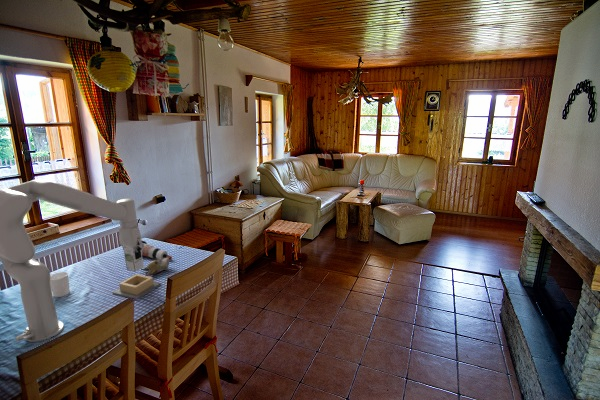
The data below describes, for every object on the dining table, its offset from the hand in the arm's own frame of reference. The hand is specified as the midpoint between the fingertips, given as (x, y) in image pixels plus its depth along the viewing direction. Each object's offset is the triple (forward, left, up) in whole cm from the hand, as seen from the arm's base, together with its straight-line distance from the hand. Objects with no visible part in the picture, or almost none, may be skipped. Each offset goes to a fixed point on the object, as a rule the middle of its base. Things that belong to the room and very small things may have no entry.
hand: (133, 257), depth 164 cm
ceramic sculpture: (+18, +5, -18) cm, 27 cm away
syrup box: (0, 0, -7) cm, 7 cm away
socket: (0, 0, -18) cm, 18 cm away
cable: (+33, +24, -18) cm, 45 cm away
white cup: (-17, +32, -18) cm, 41 cm away
